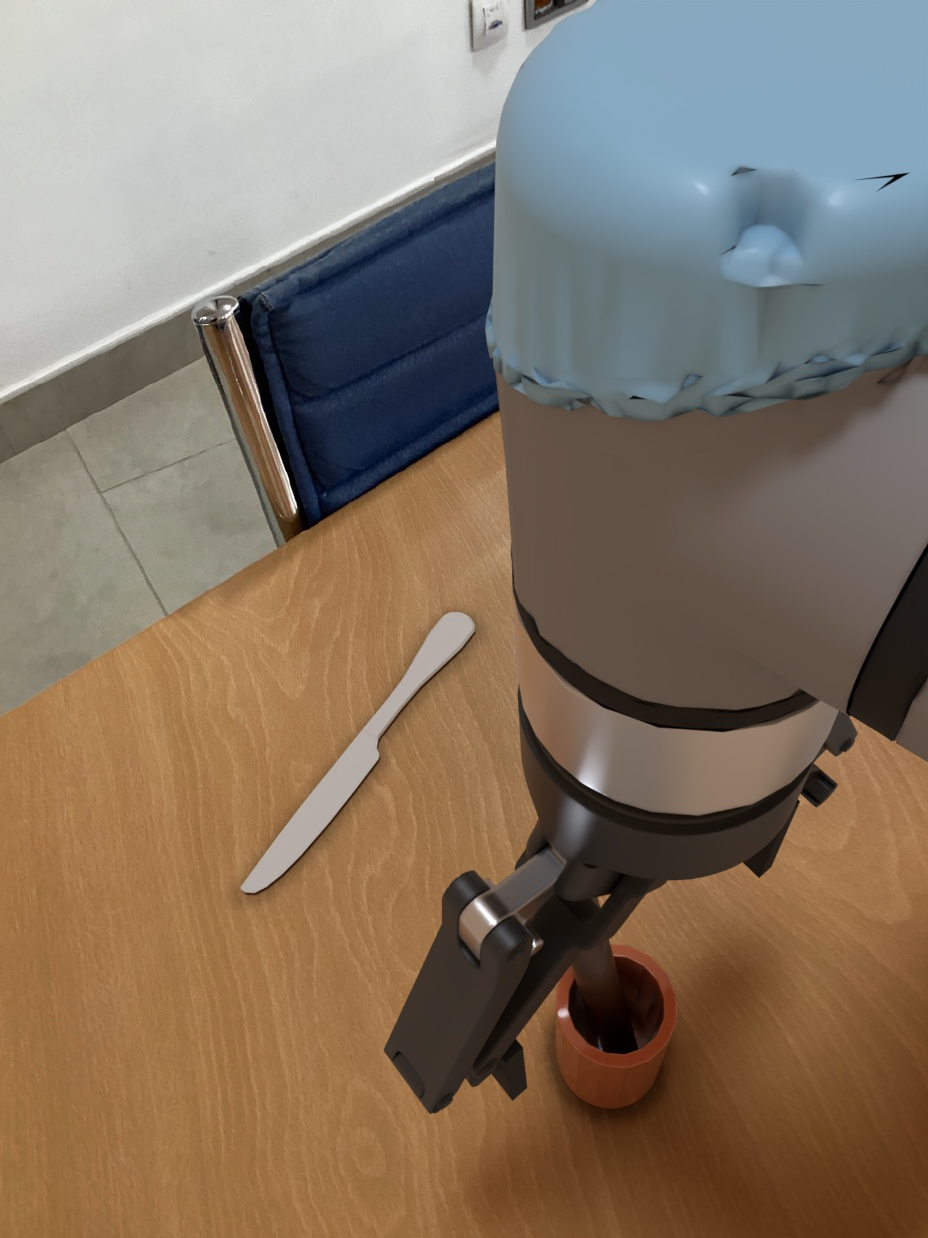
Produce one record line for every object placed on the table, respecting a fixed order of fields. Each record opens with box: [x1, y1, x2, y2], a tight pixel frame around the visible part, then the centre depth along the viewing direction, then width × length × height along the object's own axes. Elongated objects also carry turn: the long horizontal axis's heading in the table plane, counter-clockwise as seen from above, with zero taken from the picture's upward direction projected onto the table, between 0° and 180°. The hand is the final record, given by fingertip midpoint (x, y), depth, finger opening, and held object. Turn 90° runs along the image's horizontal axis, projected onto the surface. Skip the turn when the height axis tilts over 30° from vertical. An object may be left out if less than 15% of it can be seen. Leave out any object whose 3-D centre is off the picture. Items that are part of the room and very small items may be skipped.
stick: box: [571, 897, 639, 1054], centre depth 49 cm, size 2×2×22 cm
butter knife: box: [239, 611, 476, 894], centre depth 69 cm, size 1×24×3 cm
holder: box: [555, 943, 678, 1110], centre depth 54 cm, size 6×6×10 cm
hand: (625, 952), depth 43 cm, fingers open, 13 cm apart
